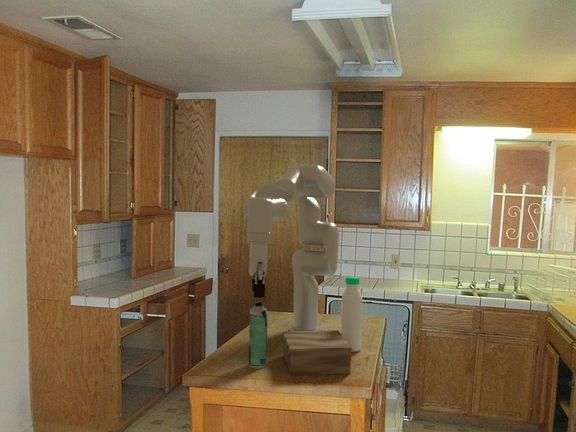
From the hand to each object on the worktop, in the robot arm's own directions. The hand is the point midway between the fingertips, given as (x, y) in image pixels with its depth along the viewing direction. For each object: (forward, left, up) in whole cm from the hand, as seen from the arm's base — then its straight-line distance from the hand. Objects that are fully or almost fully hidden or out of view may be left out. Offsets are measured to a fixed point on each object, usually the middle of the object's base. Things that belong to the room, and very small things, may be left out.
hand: (258, 294), depth 154 cm
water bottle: (-14, +33, -23) cm, 43 cm away
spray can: (0, 0, -23) cm, 23 cm away
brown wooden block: (0, +18, -22) cm, 29 cm away
